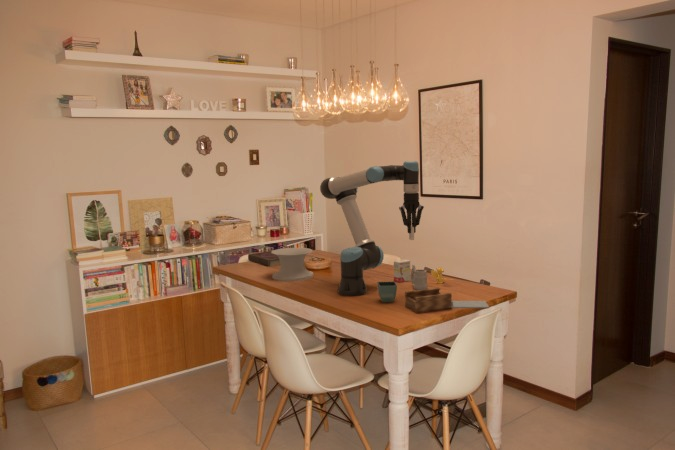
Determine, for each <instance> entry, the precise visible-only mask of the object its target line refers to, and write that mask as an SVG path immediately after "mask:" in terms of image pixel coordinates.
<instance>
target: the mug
mask: <svg viewBox="0 0 675 450" xmlns="http://www.w3.org/2000/svg"><path fill="white" fill-rule="evenodd" d="M427 272H428V271H427V269H420V268H419V269H416V265H415V264H412V267H411V270H410V281H411V284H412V285H413V289H414V290H415V291H416V290H425V289H428V286H429V285H428V275H427Z"/></svg>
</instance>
